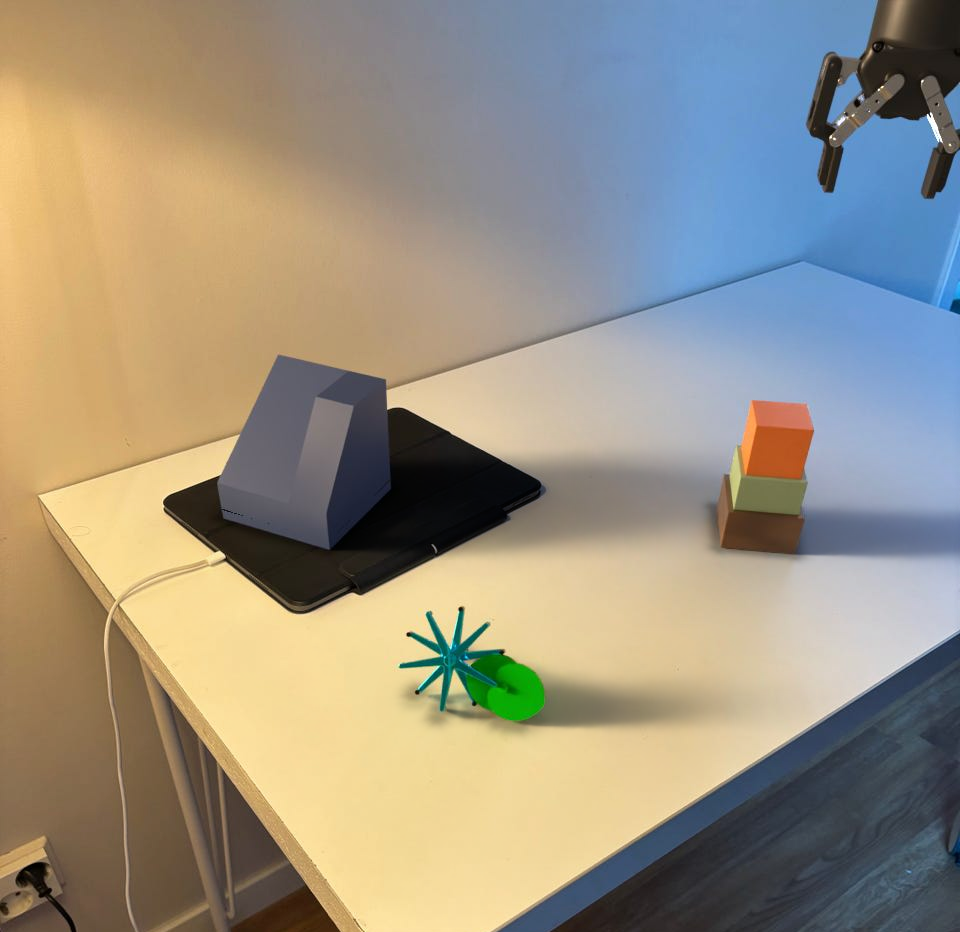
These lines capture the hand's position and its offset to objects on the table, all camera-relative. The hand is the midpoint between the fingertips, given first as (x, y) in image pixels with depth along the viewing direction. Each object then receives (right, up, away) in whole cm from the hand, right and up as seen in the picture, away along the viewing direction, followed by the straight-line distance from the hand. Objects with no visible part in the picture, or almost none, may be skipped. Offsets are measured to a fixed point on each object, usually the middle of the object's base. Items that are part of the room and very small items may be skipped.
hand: (877, 193), depth 86 cm
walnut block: (-8, -28, +10) cm, 31 cm away
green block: (-8, -25, +7) cm, 28 cm away
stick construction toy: (-35, -43, -8) cm, 56 cm away
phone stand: (-52, -26, +12) cm, 59 cm away
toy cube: (-8, -23, +5) cm, 25 cm away
